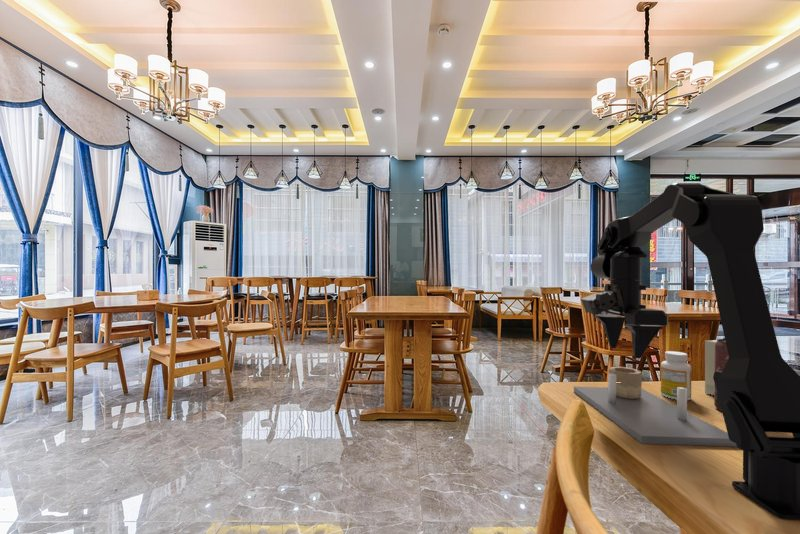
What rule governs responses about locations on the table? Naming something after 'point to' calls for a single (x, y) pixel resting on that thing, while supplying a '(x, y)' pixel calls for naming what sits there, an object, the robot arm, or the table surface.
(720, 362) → the can
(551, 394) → the table surface
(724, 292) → the robot arm
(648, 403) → the slate board
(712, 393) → the skincare box
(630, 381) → the napkin ring
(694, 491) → the table surface
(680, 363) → the supplement bottle
